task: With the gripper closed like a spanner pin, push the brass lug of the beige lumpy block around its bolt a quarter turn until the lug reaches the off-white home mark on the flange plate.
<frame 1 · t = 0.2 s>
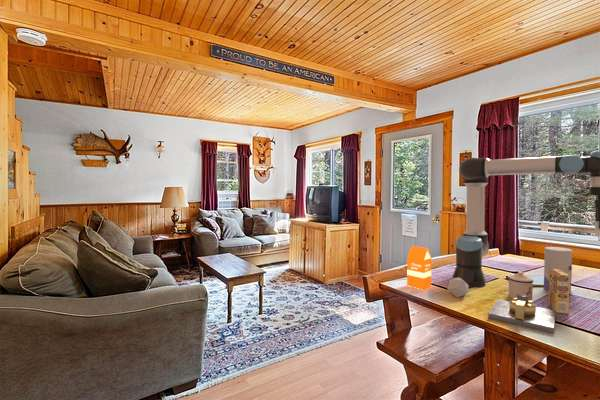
hand: (599, 234, 136), 28 cm above the table, tool pointing down, fingers open, 13 cm apart
beige lumpy block: (521, 306, 115), point 5 cm above the table, hinge at 0.0°
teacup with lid: (520, 297, 138), on the table
orange juice: (419, 287, 154), on the table
candy box: (558, 309, 124), on the table
container: (557, 290, 147), on the table
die: (457, 295, 141), on the table
flange plate: (522, 317, 117), on the table
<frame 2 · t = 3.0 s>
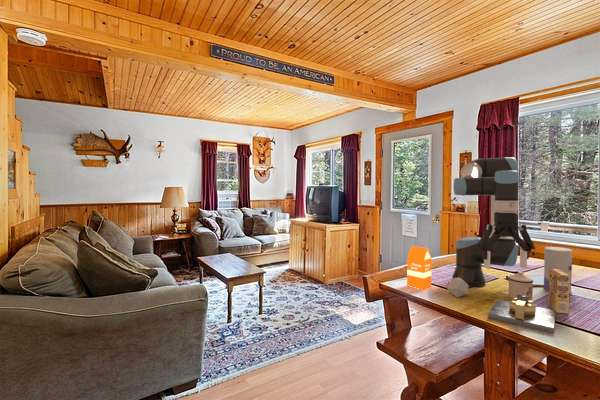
hand: (505, 267, 117), 19 cm above the table, tool pointing down, fingers open, 13 cm apart
nothing on the table moved.
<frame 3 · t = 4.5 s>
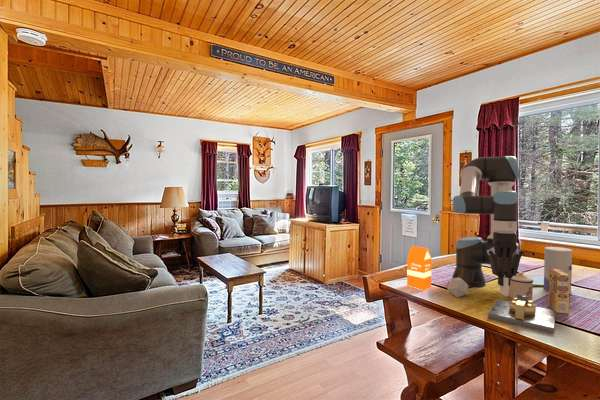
hand: (503, 294, 117), 9 cm above the table, tool pointing down, fingers closed
nothing on the table moved.
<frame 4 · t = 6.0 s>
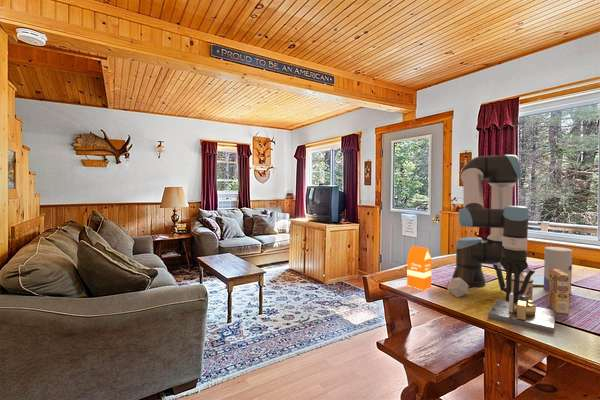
hand: (511, 310, 115), 3 cm above the table, tool pointing down, fingers closed
beige lumpy block: (522, 306, 115), point 5 cm above the table, hinge at 3.4°, touching gripper
everything else where it was.
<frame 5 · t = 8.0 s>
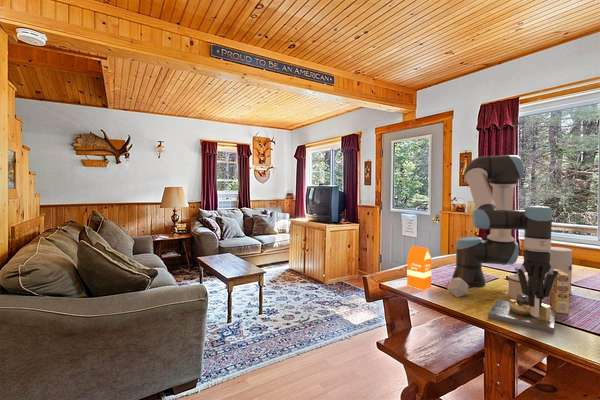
hand: (534, 315, 110), 4 cm above the table, tool pointing down, fingers closed
beige lumpy block: (529, 306, 115), point 5 cm above the table, hinge at 61.1°, touching gripper
everything else where it was.
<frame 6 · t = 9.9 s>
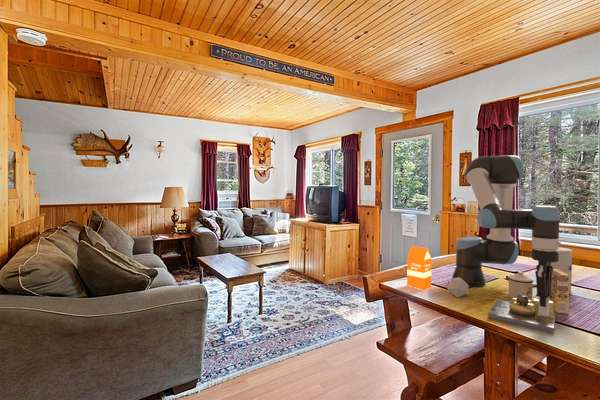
hand: (543, 314, 111), 4 cm above the table, tool pointing down, fingers closed
beige lumpy block: (530, 305, 116), point 5 cm above the table, hinge at 102.8°
everything else where it was.
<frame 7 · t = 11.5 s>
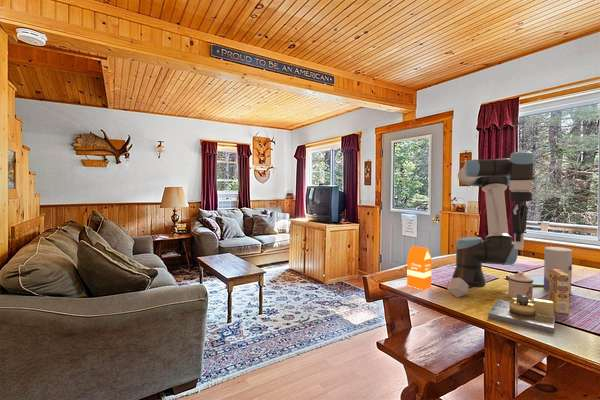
hand: (518, 249, 125), 24 cm above the table, tool pointing down, fingers closed
nothing on the table moved.
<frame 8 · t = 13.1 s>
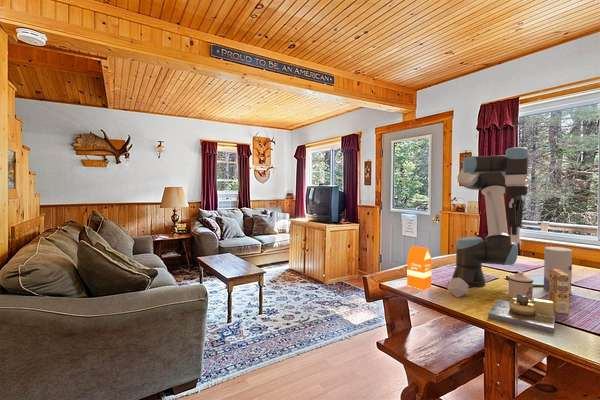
hand: (515, 242, 128), 26 cm above the table, tool pointing down, fingers closed
nothing on the table moved.
at the end: beige lumpy block at +103° (first picture: +0°) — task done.
